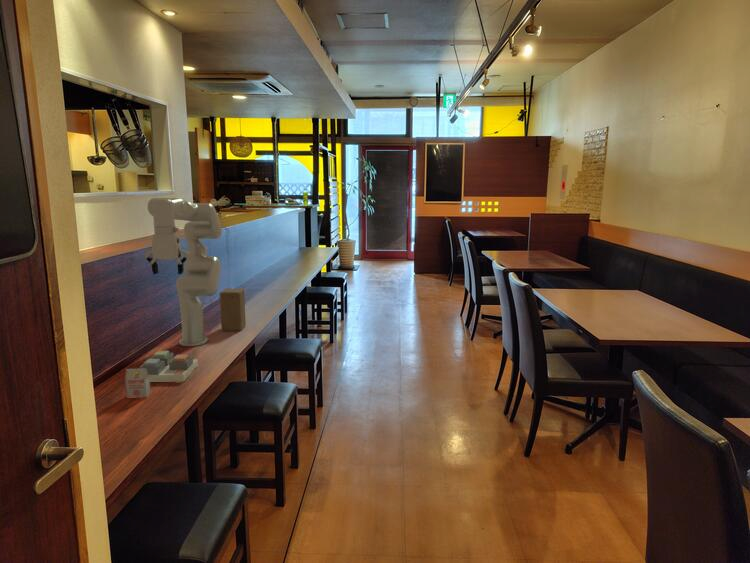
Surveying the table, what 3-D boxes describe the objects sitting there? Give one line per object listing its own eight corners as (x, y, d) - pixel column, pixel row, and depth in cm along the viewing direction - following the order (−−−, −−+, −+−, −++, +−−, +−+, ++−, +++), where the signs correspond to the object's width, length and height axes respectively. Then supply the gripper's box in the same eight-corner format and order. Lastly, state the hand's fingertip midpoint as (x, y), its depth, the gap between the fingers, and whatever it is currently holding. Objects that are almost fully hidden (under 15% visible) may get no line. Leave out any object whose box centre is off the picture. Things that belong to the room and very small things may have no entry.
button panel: (157, 366, 191) (156, 352, 190) (198, 366, 192) (197, 352, 191) (139, 382, 176) (138, 367, 175) (184, 382, 176) (182, 367, 175)
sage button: (158, 356, 189) (158, 350, 189) (169, 356, 189) (169, 350, 189) (154, 360, 185) (153, 354, 185) (165, 360, 185) (164, 354, 185)
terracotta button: (177, 360, 185) (177, 354, 185) (188, 360, 185) (188, 354, 185) (173, 364, 181) (173, 358, 181) (184, 364, 181) (184, 358, 181)
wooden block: (241, 331, 239) (239, 292, 235) (221, 331, 239) (218, 292, 235) (246, 325, 249) (244, 288, 245) (227, 325, 249) (224, 288, 245)
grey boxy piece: (130, 394, 166) (127, 367, 164) (150, 393, 167) (148, 366, 165) (126, 398, 163) (123, 371, 161) (146, 398, 163) (144, 370, 161)
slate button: (149, 364, 180) (148, 358, 180) (160, 364, 181) (159, 358, 180) (144, 369, 176) (143, 362, 176) (155, 368, 176) (155, 362, 176)
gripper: (190, 230, 192) (193, 272, 195) (146, 229, 191) (150, 272, 194) (183, 231, 184) (187, 275, 188) (138, 231, 184) (142, 275, 187)
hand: (168, 273), depth 191 cm, fingers open, 9 cm apart
